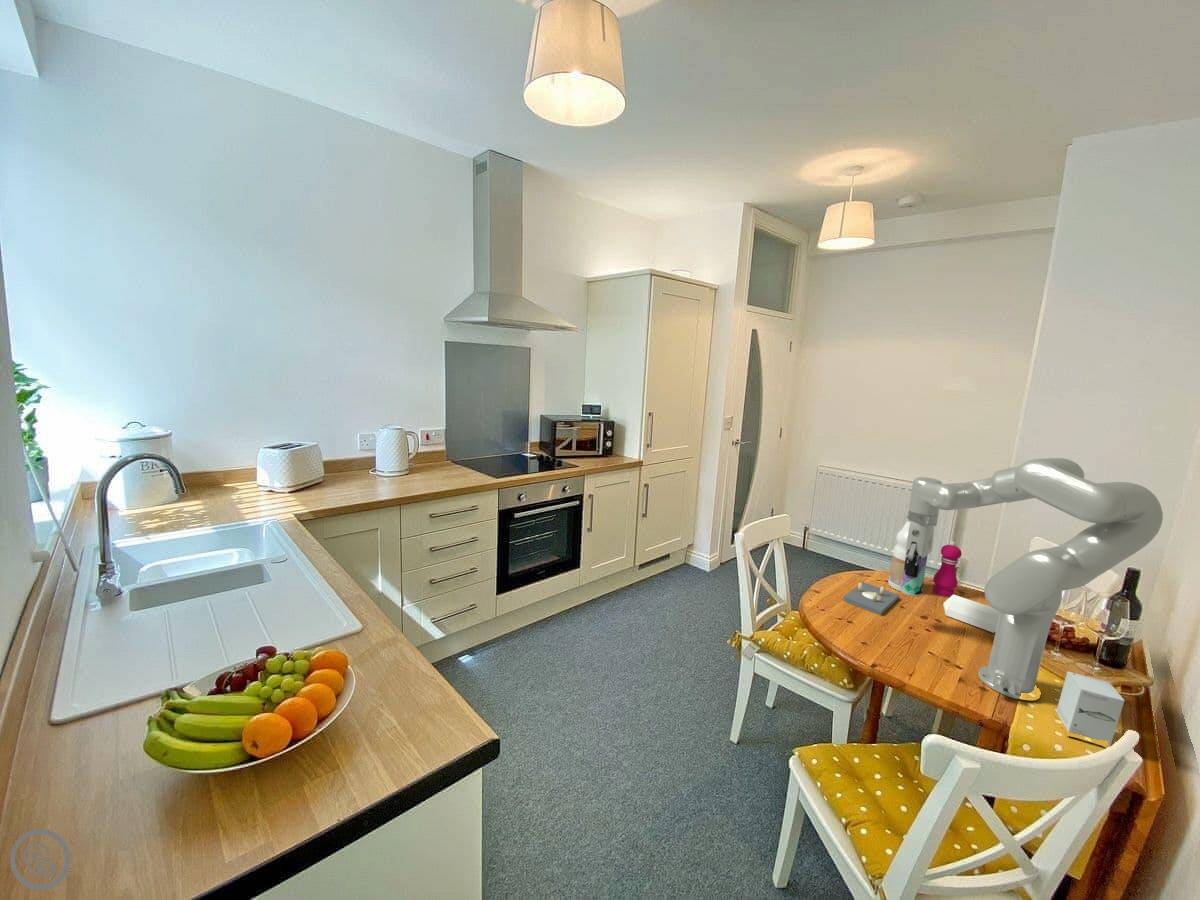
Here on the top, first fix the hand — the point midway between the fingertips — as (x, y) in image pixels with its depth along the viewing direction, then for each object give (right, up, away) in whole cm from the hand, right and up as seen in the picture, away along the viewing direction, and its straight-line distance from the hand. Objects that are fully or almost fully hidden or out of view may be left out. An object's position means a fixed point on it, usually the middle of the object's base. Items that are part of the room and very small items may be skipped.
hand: (914, 573), depth 148 cm
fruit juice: (+14, -13, +28) cm, 34 cm away
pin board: (-3, -14, +18) cm, 23 cm away
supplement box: (+12, -27, -39) cm, 49 cm away
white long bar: (+26, -19, +4) cm, 32 cm away
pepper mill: (+28, -14, +26) cm, 40 cm away
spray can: (0, -7, +1) cm, 7 cm away
